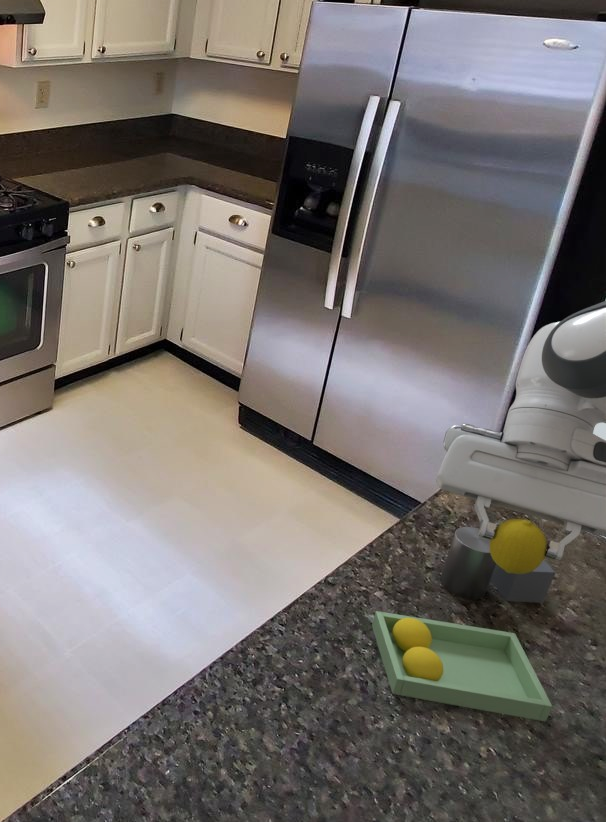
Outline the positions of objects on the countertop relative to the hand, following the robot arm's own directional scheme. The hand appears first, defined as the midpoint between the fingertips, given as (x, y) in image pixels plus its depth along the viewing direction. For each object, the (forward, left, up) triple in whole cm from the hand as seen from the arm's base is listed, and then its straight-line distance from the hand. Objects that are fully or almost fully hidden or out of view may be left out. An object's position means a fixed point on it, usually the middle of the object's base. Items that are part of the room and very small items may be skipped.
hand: (518, 547), depth 97 cm
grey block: (-8, -13, -17) cm, 23 cm away
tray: (+5, +5, -17) cm, 19 cm away
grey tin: (-1, -12, -17) cm, 21 cm away
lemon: (0, -1, -5) cm, 5 cm away
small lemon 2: (+9, +7, -17) cm, 20 cm away
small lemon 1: (+9, +2, -17) cm, 19 cm away
